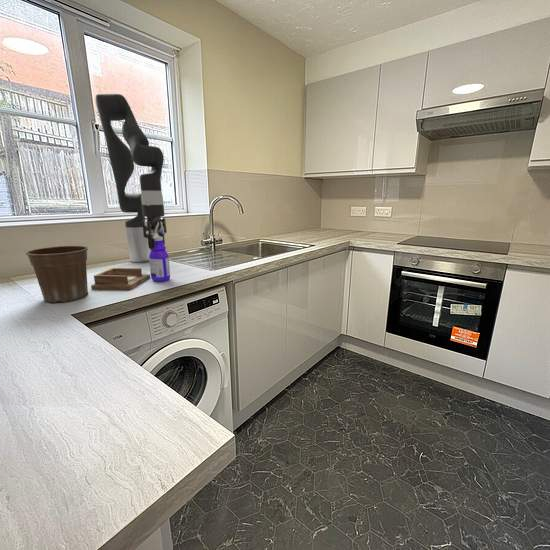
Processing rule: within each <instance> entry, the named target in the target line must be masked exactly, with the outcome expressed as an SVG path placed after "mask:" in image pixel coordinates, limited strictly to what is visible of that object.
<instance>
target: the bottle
mask: <svg viewBox="0 0 550 550" xmlns="http://www.w3.org/2000/svg"><path fill="white" fill-rule="evenodd" d="M154 240H155V248H154V249H150V251H149V260H148V261H149V269H150V279H151V280H152V281H154V282H160V283H161V282H162V283H163V282H164V283H165V282H168V281H169V280H170V279H171V269H170V256H169V254H168V251H167V250H166V248H167V247H166V244H165V245H164V243H163V237H162V236H159V235H156V236H154Z"/></svg>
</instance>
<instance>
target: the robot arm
mask: <svg viewBox="0 0 550 550" xmlns="http://www.w3.org/2000/svg"><path fill="white" fill-rule="evenodd" d="M94 99H95V106H96V109H97V113H98V117H99V120H100V123H101V127H102V132H103V133H104V137H105V138H104V139H105V143H106V146H107V147H106V148H107V153H108V157H109V158H108V159H109V162H110V167H111V170H112V174H113V178H114V182H115V186H116V193H117V199H118V205H119V208H120V211H121V212H122V213H124V214H126V213H128V214H129V213H130V214H132V213H133V214H135V213H137V215H136V216H135V217H133V218H131V219H128V220H126V221H125V222H124V226H125V230H126V232H125V233H126V239H127V247H128V248H127V249H128V255H129V256H128V257H129V261H130V262H132V263H142V262H147V261H149V255H150V250H151V249H154V248H155V240H154V236H155V235H156V234H157V236H162V237H163V243H164V245H165V246H166V243H165V242H166V241H165V236H166V234H167V222H166V218H165V206H164V197H163V191H162V183H161V179H162V172H163V166H164V162H165V161H164V158H165V156H164V153H163V151H162V149H161V148H160V147H158V146H153V145H150V142H149V140H148V137H147V136H146V135H145V133H144V132H143V130H142V129H141V127H140V125H139V124H138V122H137V119H136V117H135V115H134V112H133V111H132V108H131V106H130V104H129V102H128V100H127V99H126V97H124V95H123V94H120V93H97V94H96V95H95V98H94ZM115 121H118V122H119V121H124V122H123V124H122V126H121V133H122V134H121V135H122V138H124V141H125V142H126V143H125V142H124V141H123V140H122V138H120V137H119V135H118V134H117V133H116V131H115V130H114V128H113V125H112V122H115ZM135 165H137V166H139V167H149V168H151V169H150V172H147V173H142V174H140V176H139V183H140V184H139V185H140V193H139V192H137V193H134V192H132V193H131V192H129V193H126V191H125V190H126V187H127V184H128V182H129V180H130V178H131V177H132V175H133V173H134V170H135ZM146 219H147V220H146Z"/></svg>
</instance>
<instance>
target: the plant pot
mask: <svg viewBox="0 0 550 550" xmlns="http://www.w3.org/2000/svg"><path fill="white" fill-rule="evenodd" d="M88 250H89V247H88V246H83V245H60V246H51V247H50V246H49V247H41V248H34V249H31V250H28V251H25V255H26V256H27V257H28V259H29V261H30V265H31V266H32V267H33V269H34V270H33V271H34V274H35V277H36V279H37V282H38V285H39V287H40V291H41V294H42V295H41V296H42V298H43V300H44V301H45V302H47V303H54V304H55V303H58V302H63V303H67V302H72V301H77V300H80V299H82V298H85V297H87V295H88V294H89V290H88V273H87V272H88V271H87V260H88Z"/></svg>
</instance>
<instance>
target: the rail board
mask: <svg viewBox="0 0 550 550" xmlns="http://www.w3.org/2000/svg"><path fill="white" fill-rule="evenodd" d="M149 279H151V273H150V274H149V273H148V274H147V273H143V272H142V268H140V267H139V268H135V267H134V268H131V267H129V268H128V267H127V268H126V267H111V268H109V269H106V270H105V271H102V272H99V273H97V274H95V275H93V280H94V283H93V284H91V285H90V287H91V290H100V291H103V290H104V291H105V290H106V291H131V290H133V289H134V288H136V287H138V286H139V285H140V284H143V283H144V282H146V281H147V280H149Z"/></svg>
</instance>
